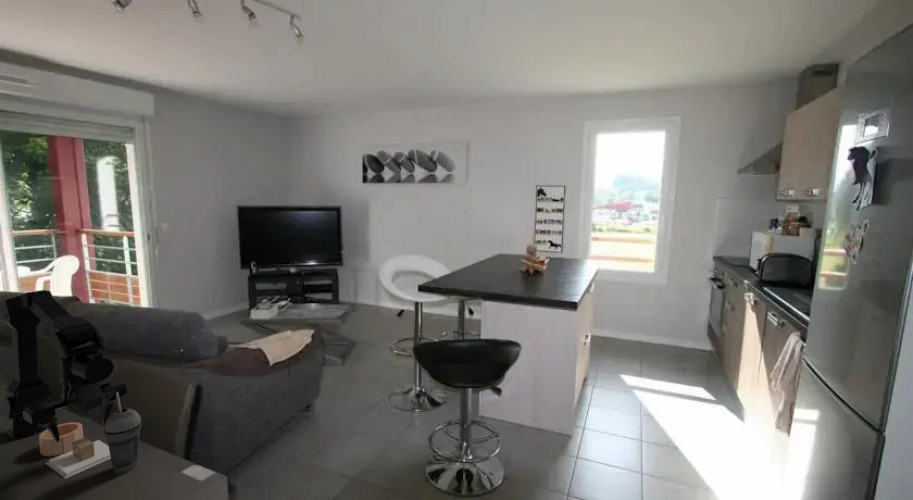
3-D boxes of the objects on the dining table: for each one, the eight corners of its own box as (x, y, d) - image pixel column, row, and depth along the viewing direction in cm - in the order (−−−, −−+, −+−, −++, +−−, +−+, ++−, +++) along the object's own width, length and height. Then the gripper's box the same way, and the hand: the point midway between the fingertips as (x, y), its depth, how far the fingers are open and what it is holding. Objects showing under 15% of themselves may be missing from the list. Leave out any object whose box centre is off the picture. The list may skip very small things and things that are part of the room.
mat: (45, 465, 101) (45, 463, 101) (100, 442, 111) (100, 441, 111) (65, 480, 96) (65, 478, 96) (120, 455, 106) (120, 453, 106)
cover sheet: (49, 463, 101) (47, 446, 101) (98, 442, 110) (97, 427, 109) (67, 476, 96) (65, 459, 96) (117, 454, 105) (116, 438, 105)
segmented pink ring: (35, 451, 106) (34, 433, 106) (75, 436, 113) (73, 419, 113) (48, 461, 102) (47, 442, 102) (88, 445, 110) (87, 427, 109)
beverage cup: (123, 481, 96) (118, 402, 94) (98, 476, 98) (92, 398, 95) (151, 462, 103) (147, 388, 101) (128, 458, 105) (123, 384, 102)
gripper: (39, 396, 89) (45, 462, 91) (137, 367, 105) (140, 423, 107) (19, 384, 94) (25, 447, 96) (116, 358, 110) (119, 412, 112)
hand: (81, 431), depth 102 cm, fingers open, 9 cm apart
